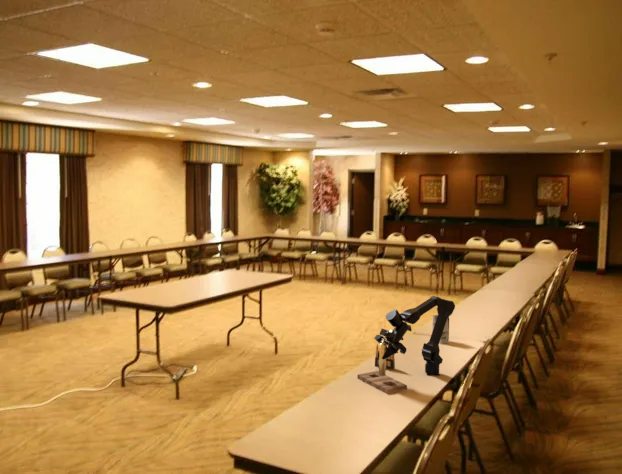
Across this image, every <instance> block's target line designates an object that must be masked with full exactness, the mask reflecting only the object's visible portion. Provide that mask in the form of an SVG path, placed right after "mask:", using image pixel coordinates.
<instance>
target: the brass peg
mask: <svg viewBox="0 0 622 474" xmlns="http://www.w3.org/2000/svg"><path fill="white" fill-rule="evenodd" d="M378 344H379V345H378V351H379V367H378V372H379V375H380V376H385V375H387V374H386V373H387V372H386V370H387V368H386V359H384V360H383V359H382V357H383V355H384V354H385V352H386V343H378Z"/></svg>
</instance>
